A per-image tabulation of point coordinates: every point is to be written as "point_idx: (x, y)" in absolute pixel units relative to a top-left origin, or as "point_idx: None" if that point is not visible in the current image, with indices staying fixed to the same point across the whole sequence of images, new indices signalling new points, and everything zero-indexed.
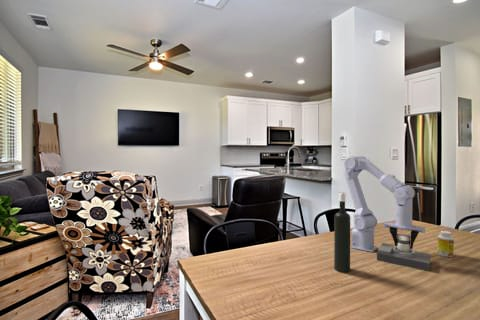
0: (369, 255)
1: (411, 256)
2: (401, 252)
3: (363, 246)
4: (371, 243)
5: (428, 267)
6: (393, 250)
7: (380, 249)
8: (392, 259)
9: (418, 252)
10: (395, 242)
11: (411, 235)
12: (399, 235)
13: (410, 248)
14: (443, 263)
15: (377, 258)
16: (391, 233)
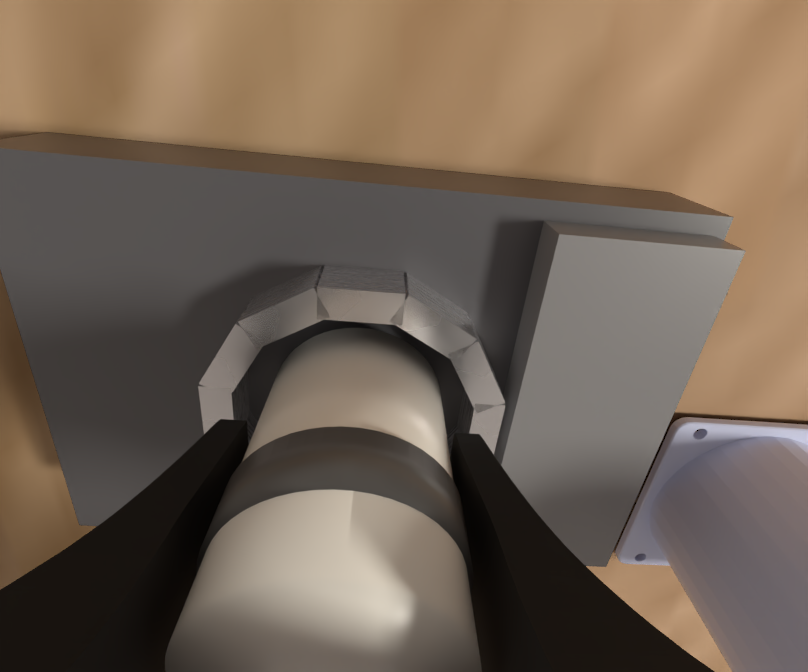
0: (732, 309)
1: (246, 308)
2: (378, 291)
3: (802, 460)
4: (732, 522)
5: (25, 138)
6: (491, 369)
7: (695, 295)
8: (495, 185)
9: None
10: (488, 472)
11: (37, 667)
12: (431, 633)
13: (240, 424)
14: (12, 463)
15: (675, 198)
16: (665, 644)
